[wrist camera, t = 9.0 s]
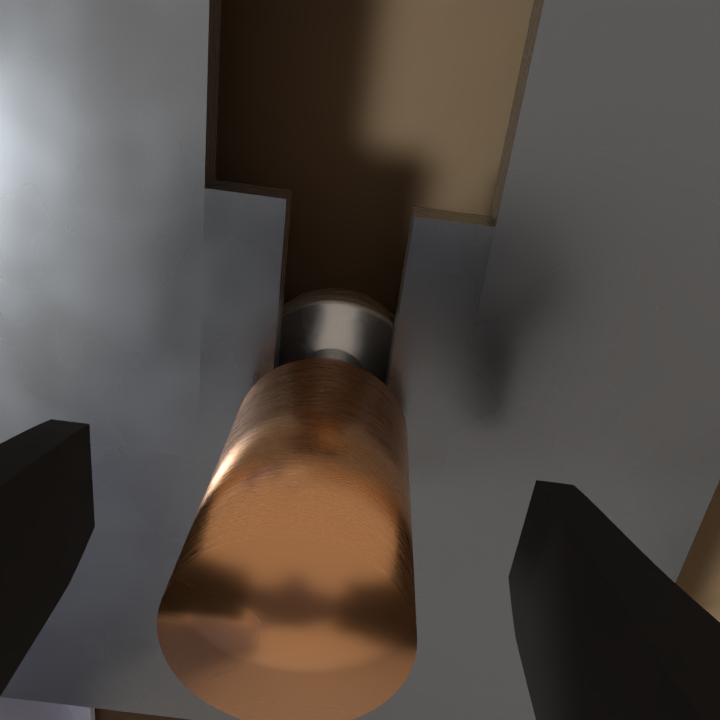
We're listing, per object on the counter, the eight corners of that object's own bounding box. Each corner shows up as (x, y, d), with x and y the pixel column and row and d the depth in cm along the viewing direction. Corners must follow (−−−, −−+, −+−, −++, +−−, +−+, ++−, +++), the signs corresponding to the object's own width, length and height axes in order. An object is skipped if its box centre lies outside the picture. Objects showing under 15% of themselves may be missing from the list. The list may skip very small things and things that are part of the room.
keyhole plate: (571, 684, 20) (595, 768, 17) (23, 618, 19) (-25, 693, 17) (1017, -503, 9) (1217, -677, 7) (-134, -683, 9) (-309, -925, 7)
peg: (396, 440, 16) (402, 756, 9) (249, 416, 16) (137, 717, 9) (427, 303, 15) (464, 551, 8) (265, 275, 15) (144, 500, 7)
